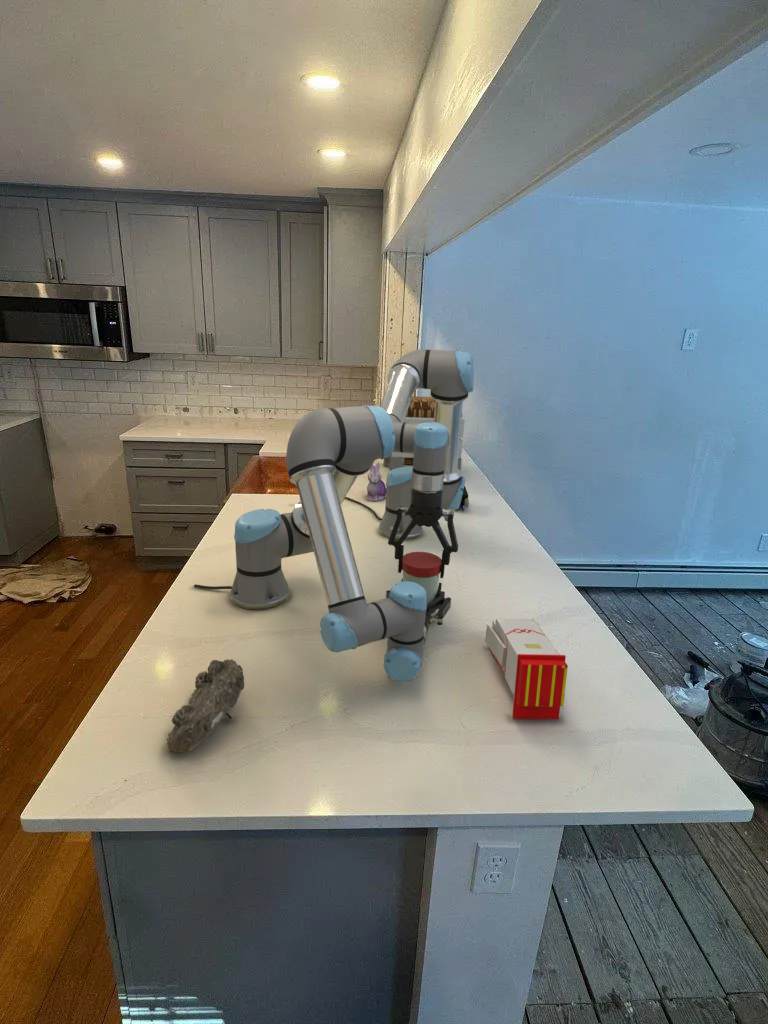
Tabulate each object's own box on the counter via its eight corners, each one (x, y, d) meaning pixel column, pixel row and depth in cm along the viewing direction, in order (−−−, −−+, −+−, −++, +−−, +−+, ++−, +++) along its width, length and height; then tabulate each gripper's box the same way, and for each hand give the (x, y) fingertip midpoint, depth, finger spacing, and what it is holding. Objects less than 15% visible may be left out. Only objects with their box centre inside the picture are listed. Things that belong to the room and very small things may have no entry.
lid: (412, 556, 149) (412, 548, 148) (447, 566, 144) (448, 557, 143) (394, 570, 140) (394, 561, 139) (431, 581, 136) (432, 572, 135)
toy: (531, 603, 136) (576, 661, 106) (526, 655, 139) (569, 725, 109) (481, 602, 135) (512, 660, 106) (477, 654, 138) (507, 724, 109)
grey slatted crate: (382, 463, 289) (386, 382, 275) (445, 464, 293) (451, 384, 279) (390, 482, 257) (394, 392, 243) (460, 483, 261) (468, 394, 247)
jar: (441, 621, 145) (446, 566, 140) (410, 628, 141) (414, 572, 136) (424, 605, 153) (428, 552, 147) (394, 611, 149) (397, 557, 144)
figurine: (371, 503, 230) (372, 467, 224) (360, 495, 238) (361, 460, 233) (391, 500, 234) (393, 465, 229) (380, 493, 242) (381, 459, 237)
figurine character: (468, 516, 224) (463, 500, 237) (471, 498, 221) (465, 483, 234) (452, 515, 224) (447, 499, 237) (453, 498, 220) (449, 482, 234)
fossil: (192, 660, 117) (244, 628, 112) (224, 691, 120) (276, 661, 115) (142, 746, 98) (202, 712, 93) (182, 779, 101) (242, 748, 96)
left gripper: (363, 637, 131) (380, 593, 152) (457, 650, 128) (461, 602, 149) (364, 609, 128) (381, 567, 149) (460, 621, 125) (464, 577, 146)
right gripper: (475, 488, 137) (466, 572, 144) (383, 480, 140) (380, 561, 148) (473, 498, 130) (465, 585, 137) (377, 488, 134) (374, 574, 141)
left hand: (421, 585), depth 149 cm, fingers closed on jar, 9 cm apart
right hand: (421, 573), depth 143 cm, fingers closed on lid, 10 cm apart
